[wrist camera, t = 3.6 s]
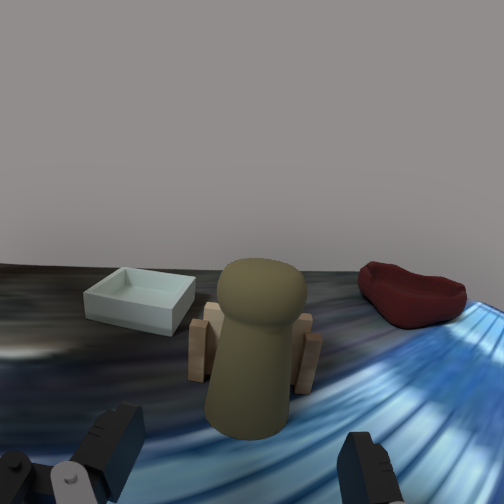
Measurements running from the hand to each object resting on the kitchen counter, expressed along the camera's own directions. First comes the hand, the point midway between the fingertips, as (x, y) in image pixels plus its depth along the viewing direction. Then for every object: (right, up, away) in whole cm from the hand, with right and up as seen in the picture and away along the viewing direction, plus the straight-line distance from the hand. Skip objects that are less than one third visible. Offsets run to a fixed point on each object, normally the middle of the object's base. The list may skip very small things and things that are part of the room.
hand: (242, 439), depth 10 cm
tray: (-12, +1, +24) cm, 27 cm away
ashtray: (+23, -2, +31) cm, 39 cm away
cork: (0, -4, +10) cm, 11 cm away
